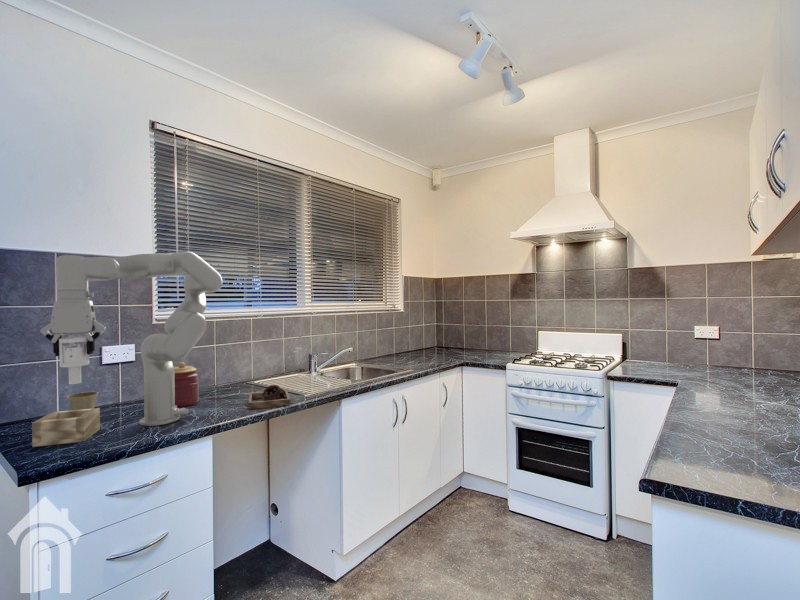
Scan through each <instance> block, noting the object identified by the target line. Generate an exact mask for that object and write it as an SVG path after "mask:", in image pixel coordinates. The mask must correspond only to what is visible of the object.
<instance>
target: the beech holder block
mask: <svg viewBox="0 0 800 600" xmlns="http://www.w3.org/2000/svg"><path fill="white" fill-rule="evenodd" d="M100 410H101V408H100V407H96V408H92V409H81V410H62V411H61V410H60V411H51V412H50V413H48V414H47V415H44V416H42V417H41V418H39V419H37V420H35V421H34V422H33V421H32V423H31V432H32V433H31V436H32V437H31V438H32V440H31V443H32V444H31V446H32V447H33V448H36V447H44V446H52V445H63V444H71V443H81V442H82V441H83V442H85V441H87V440H88V439H89V438H91V437H92V436H93V435H94V434H96V433H97V432H98V431H99V430H101V413H100ZM83 442H82V443H83Z"/></svg>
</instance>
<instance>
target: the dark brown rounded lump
mask: <svg viewBox="0 0 800 600" xmlns="http://www.w3.org/2000/svg"><path fill="white" fill-rule="evenodd" d="M262 392H263V393H262V394H263V398H262V401H269V400H280V399H286V396H285V395H284V389H283V388H281V387H280V385H278V384H271V385H269V386H267V387H266V388H265V389H264V390H263V391H262ZM266 392H267V394H268V395H265V393H266Z"/></svg>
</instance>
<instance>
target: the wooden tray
mask: <svg viewBox="0 0 800 600" xmlns="http://www.w3.org/2000/svg"><path fill="white" fill-rule="evenodd" d="M283 390H284V389H283ZM262 393H263V391H262V392H261V391H260V392H251V393H249V395H248V398H249V399H248V410H253V409H254V410H255V409H264V408H265V409H266V408H267V409H268V408H275V407H277V408H278V407H284V406H283V405H287V406H291V397H290V394H289V392H288V390H287V389H285V390H284V395H285V396H286V399H278V400H276V399H275V400H269V401H263V400H262V401H260V400H261V399H263V394H262ZM265 395H268V394H267V392H266V393H265ZM259 399H260V400H259ZM253 400H259V401H253Z"/></svg>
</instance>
